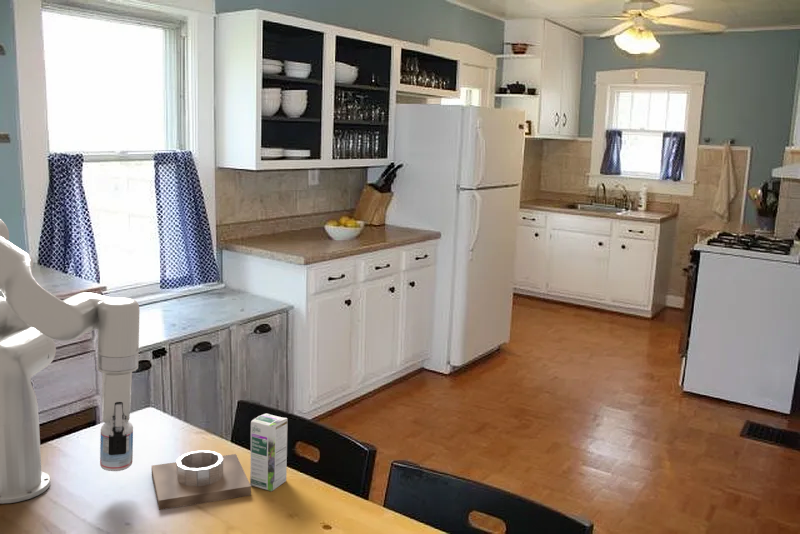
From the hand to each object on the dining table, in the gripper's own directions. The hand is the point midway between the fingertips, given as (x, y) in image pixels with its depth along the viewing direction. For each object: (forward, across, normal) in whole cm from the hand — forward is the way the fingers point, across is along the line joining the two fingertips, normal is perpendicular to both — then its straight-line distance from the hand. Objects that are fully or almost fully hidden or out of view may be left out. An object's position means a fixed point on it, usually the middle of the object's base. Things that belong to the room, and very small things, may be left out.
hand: (116, 445), depth 145 cm
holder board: (+10, +2, +16) cm, 19 cm away
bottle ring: (+8, +2, +16) cm, 18 cm away
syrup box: (+9, +6, +30) cm, 32 cm away
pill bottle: (+4, 0, 0) cm, 4 cm away
